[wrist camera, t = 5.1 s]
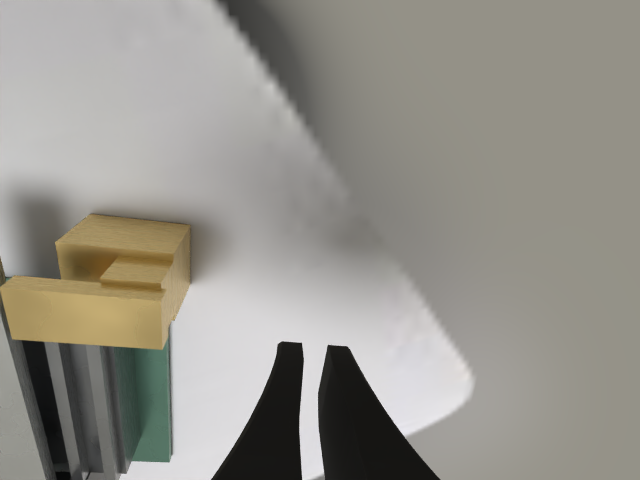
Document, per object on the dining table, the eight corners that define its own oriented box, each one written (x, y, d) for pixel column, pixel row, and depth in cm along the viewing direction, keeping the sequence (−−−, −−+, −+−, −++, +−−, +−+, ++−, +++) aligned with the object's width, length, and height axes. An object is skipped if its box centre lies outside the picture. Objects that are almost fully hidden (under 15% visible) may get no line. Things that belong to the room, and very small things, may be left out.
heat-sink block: (-102, 268, 16) (-180, 311, 14) (167, 291, 18) (145, 335, 15) (-36, 448, 21) (-83, 505, 18) (171, 455, 23) (154, 510, 20)
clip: (77, 212, 16) (-5, 273, 11) (195, 225, 16) (160, 287, 12) (85, 275, 17) (14, 351, 13) (194, 285, 18) (162, 360, 13)
